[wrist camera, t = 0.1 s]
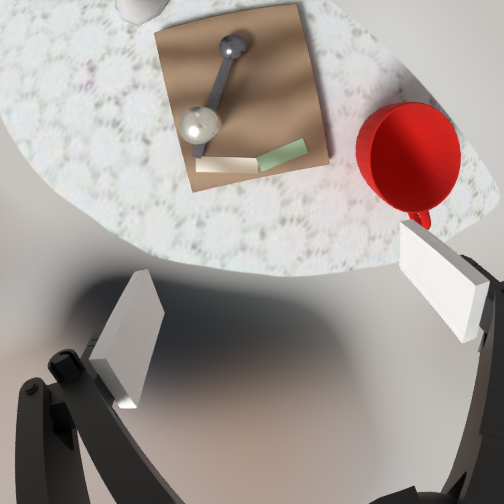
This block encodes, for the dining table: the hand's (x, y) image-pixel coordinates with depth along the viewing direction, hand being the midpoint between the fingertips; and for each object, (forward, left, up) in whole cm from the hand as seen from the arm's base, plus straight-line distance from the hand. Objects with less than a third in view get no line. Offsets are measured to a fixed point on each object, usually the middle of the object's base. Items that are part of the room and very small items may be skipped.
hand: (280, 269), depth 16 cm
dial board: (-10, +1, -28) cm, 29 cm away
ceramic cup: (+2, +19, -28) cm, 34 cm away
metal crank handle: (-11, -2, -26) cm, 28 cm away
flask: (-27, -9, -28) cm, 40 cm away
